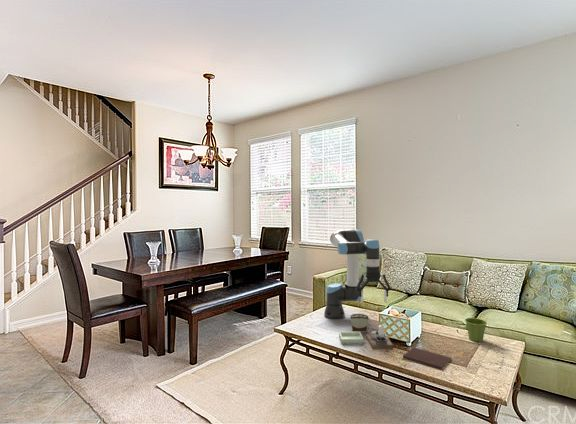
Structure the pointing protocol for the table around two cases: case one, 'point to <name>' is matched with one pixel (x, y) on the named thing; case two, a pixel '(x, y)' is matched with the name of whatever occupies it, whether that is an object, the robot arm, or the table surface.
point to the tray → (351, 338)
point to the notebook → (427, 358)
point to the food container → (359, 322)
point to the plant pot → (475, 328)
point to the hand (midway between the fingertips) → (373, 302)
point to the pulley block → (378, 341)
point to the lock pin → (380, 332)
